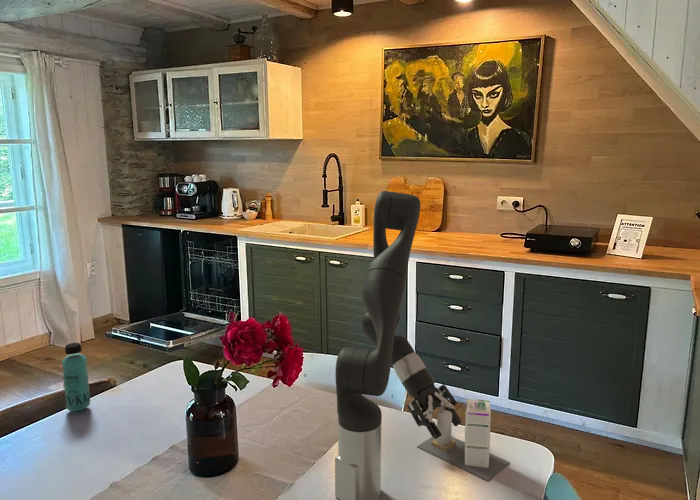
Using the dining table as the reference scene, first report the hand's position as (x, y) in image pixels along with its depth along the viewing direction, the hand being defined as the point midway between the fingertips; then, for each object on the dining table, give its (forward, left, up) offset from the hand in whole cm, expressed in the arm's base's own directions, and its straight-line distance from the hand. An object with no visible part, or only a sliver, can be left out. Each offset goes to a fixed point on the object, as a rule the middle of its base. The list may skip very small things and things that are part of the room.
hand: (448, 430), depth 136 cm
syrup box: (0, -8, -5) cm, 9 cm away
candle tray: (0, -4, -5) cm, 6 cm away
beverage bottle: (-58, +87, -5) cm, 104 cm away
